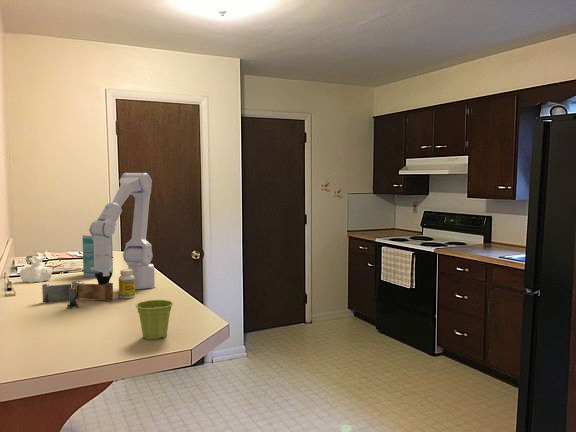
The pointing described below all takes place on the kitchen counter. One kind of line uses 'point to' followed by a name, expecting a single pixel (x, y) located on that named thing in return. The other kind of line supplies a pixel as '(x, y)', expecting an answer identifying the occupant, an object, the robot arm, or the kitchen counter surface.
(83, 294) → the brown wooden block
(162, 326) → the plant pot
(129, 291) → the supplement bottle
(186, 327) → the kitchen counter surface
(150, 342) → the kitchen counter surface
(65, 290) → the fence
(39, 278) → the bust
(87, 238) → the food can
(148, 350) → the kitchen counter surface
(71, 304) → the latch post
